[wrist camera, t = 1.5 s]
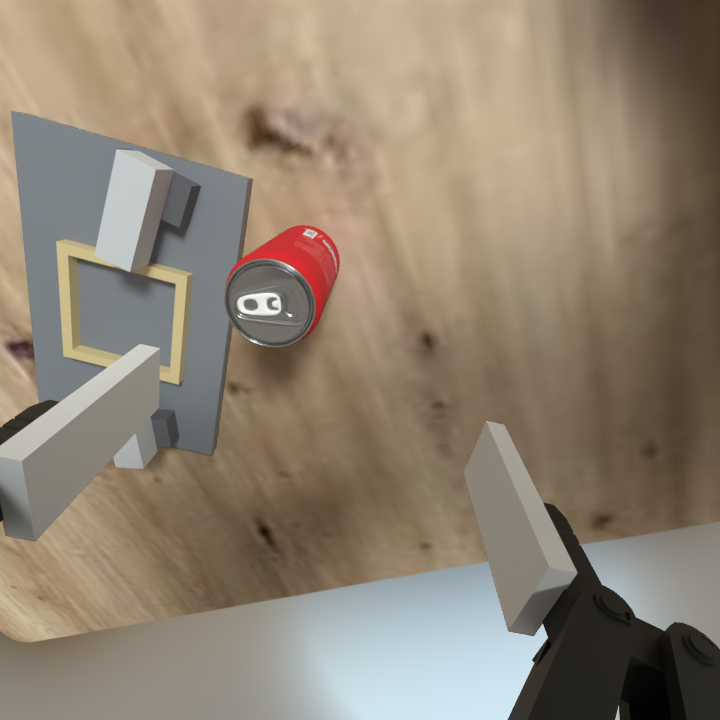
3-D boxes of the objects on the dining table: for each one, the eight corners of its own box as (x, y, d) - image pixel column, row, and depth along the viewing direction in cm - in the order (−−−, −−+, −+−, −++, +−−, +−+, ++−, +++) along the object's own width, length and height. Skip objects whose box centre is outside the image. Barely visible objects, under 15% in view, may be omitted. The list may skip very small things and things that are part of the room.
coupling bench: (25, 113, 28) (-47, 101, 23) (252, 179, 29) (228, 180, 24) (49, 408, 38) (3, 441, 34) (215, 447, 40) (193, 485, 35)
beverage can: (343, 289, 32) (324, 350, 21) (279, 292, 33) (229, 353, 22) (338, 221, 30) (315, 251, 19) (270, 225, 30) (209, 255, 20)
